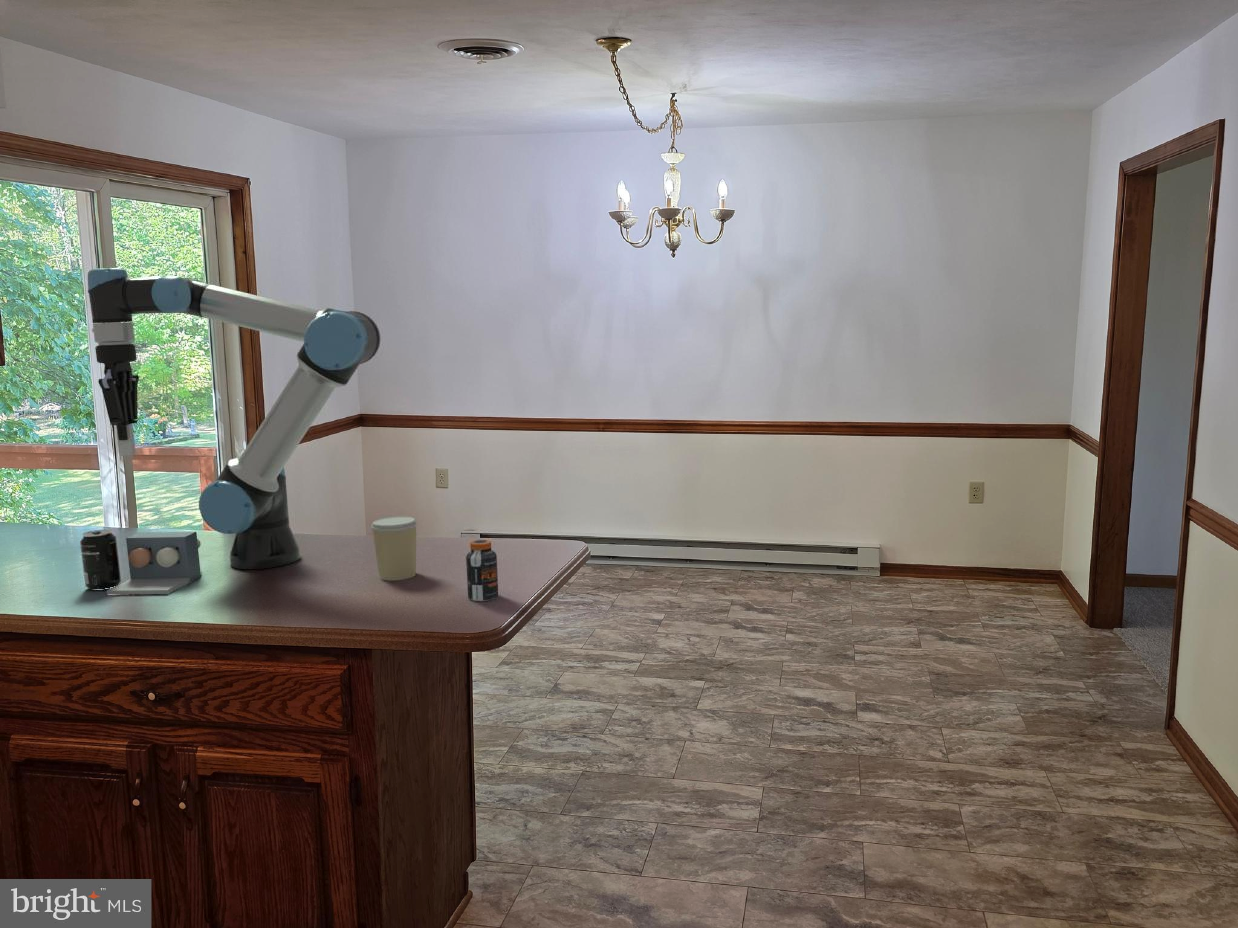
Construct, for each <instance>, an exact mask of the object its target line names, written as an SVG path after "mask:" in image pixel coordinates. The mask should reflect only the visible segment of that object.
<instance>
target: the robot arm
mask: <svg viewBox="0 0 1238 928" xmlns="http://www.w3.org/2000/svg"><path fill="white" fill-rule="evenodd" d="M87 293H88V297H89V305H90V311H91V312H90V313H91V318H92V319H91V321H92V329H91V331H92V332H93V338H94V342H95V343H97V344H98V345H96V346H95V348H94V349H95V357H96V358H95V359H96V362H97V363H98V364H104V366H103V367H104V369H103V374H104V377H103V378H99V379H98V385H99V387H100V389H101V390H102V391H101V392H102V396H103V400H104V403H105V408H106V412H107V416H108V420H109V423H110V425H111V426H116V432H117V433H116V435H117V441H118V451H119V456H122V457H123V456H135V455H137V452H136V441H135V433H134V426H133V425H134V424H138V413H139V412H138V385H139V378H140V377H139V374H133V368H132V365H131V363H133V362H136V361H137V359H138V358H137V357H138V356H137V349H136V345H135V344H133V342H134V341H136V338H135V337H136V336H135V332H134V323H133V315H139V314H140V315H141V314H144V315H145V314H185V315H191V316H195V317H199V318H203V319H204V318H205V319H207V320H213V321H215V322H221V323H226V324H229V325H233V326H237V327H241V328H245V329H248V330H249V329H250V330H253V331H258V332H263V333H266V334H270V335H273V336H274V335H275V336H278V337H283V338H286V339H290V340H294V341H299V342H303V344H302V346H301V347H300V349H299V350H298V352H297V354H296V359H297V363H298V366H297V368H296V369H295V371H294V373H293V374H292V375H291V377H290V379H289V380H288V382H287V383H286V385H285V387H284V388H283V390H282V391H281V393H280V395H279V396H278V397H277V399H276V401H275V402H274V403H273V405H272V407H271V409H270V410H269V412H268V413H267V414H266V416H265V417H264V419H263V421H262V422H261V424H260V426H258V428H257V431H256V432H255V434H254V435H253V437H252V438H251V440H250V441H249V442H248V444H247V446H246V447H245V449H244V450H243V452H242V453H241V455H240V457H235V458H231V459H229V460H228V462H227V463H226V465H225V466H224V468H223V469H222V471H221V472H220V474H218V475H219V476H217V478H216V480H215V481H212V482H211V483H209V484H208V485H207V486H205V488H204V489H203V490H202V491H201V494H200V496H199V500H198V510H199V513H200V516H201V518H202V520H203V521H204V523H205V524H206V525H207V526H208V527H209V528H211V529H212V530H214V532H218V533H220V534H226V535H233V534H235V535H234V537H233V543H232V545H231V550H230V555H229V560H230V566H231V567H232V568H235V569H239V570H260V569H271V568H277V567H283V566H286V565H290V564H293V563H295V562H297V561H299V560H300V558H301V555H300V553H301V551H300V547H299V545H298V543H297V540H296V537H295V535H294V533H293V531H292V529H291V527H290V519H289V517H290V516H289V506H288V505H289V504H288V494H287V492H288V491H287V481H286V480H287V476H286V473H285V465H286V464H287V462H288V461H289V459H290V458H291V457H292V455H293V454H294V452H295V450H296V449H297V447H298V446H299V444H300V443H301V441H302V439H304V437H305V435H306V433H307V432H308V430H309V429H310V427H311V426H312V424H313V423H314V422H315V420H316V418H317V417H318V415H319V414H320V413H321V410H322V409H323V407H325V404H326V403H327V401H328V399H330V397H331V395H332V394H333V392H334V391H335V389H336V388H339V387H345V386H346V385H347V384H348V383H349V381H350V379H351V378H352V377H353V375H354V374H355V372H356V370H357V369H358V368H359V366H360V365H362V364H365V363H367V362H369V361H370V360H372V359H373V358H374V357H375V356H376V354H377V353H378V351H379V348H380V345H381V333H380V330H379V327H378V325H377V324H376V322H375V321H374V320H373V318H371V317H370V316H369V315H367V314H365V313H363V312H360V311H354V310H350V311H348V310H347V311H345V310H339V309H336V308H335V309H334V308H330V307H325V308H324V309H323V310H319V309H314V308H310V307H306V306H301V305H298V304H294V303H289V302H285V301H281V300H277V299H273V298H268V297H264V296H259V295H256V294H252V293H247V292H244V291H240V290H236V289H232V288H226V287H223V286H218V285H214V284H209V283H206V282H202V281H201V280H198V279H195V278H191V277H186V278H185V277H182V276H178V275H177V276H174V275H160V276H145V277H129V275H128V272H127V270H126V269H124V268H117V267H113V268H112V267H110V268H105V267H104V268H103V267H102V268H101V267H100V268H92V269H89V271H88V272H87Z"/></svg>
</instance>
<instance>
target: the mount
mask: <svg viewBox="0 0 1238 928" xmlns="http://www.w3.org/2000/svg"><path fill="white" fill-rule="evenodd" d="M197 539H198V534H197V531H163V532H162V531H158V532H156V531H155V532H154V531H153V532H150V531H149V532H137V533H133V534H132V535H130V536H128V537H125V541H126V549H127V559H128V565H129V566H128V567H129V574H130V576H129V577H130V578H129V579H127V580H125V581H123V582H122V583H121V582H120V583H119V584H118V585H117V586H115V587H113V588H111V589H108V590H106V595H107V594H168V595H170V594H172V593H174V592H175V591H177V590H179V589H181V588H182V587H184V586H186V585H187V584H188V585H189V583H191V582H193V581H195V580H196V579H199V578H200V577H201V576H202V575H201V574H202V573H201V572H202V571H201V562H200V554H199V548H198V543H197ZM140 547H145V548H151V551H152V561H151V562H150V563H149V564H148V565H146V566H144V567H141V568H137V567H134V566H133V565H132V564H131V563H130V561H129V555H130V553H131V552H132V551H133V550H135V549H137V548H140ZM166 547H173V548H175V547H178V549H179V561H178V562H177V563H176V564H174V565H172V566H170V567H163V566H161V565H160V564H159V563H158V562H157V559H156V556H157V553H158V552H159V551H160V550H162V549H164V548H166ZM180 587H181V588H180ZM176 589H177V590H176ZM174 590H175V591H174ZM173 591H174V592H173ZM171 592H172V593H171Z"/></svg>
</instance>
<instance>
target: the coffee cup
mask: <svg viewBox="0 0 1238 928" xmlns="http://www.w3.org/2000/svg"><path fill="white" fill-rule="evenodd" d="M371 530H372V535H373V543H374V550H375V558H376V565H377V571H378V577H379V578H380V580H382V581H391V582H392V581H402V580H408V579H411V578H414V577H415V576H416V575H417V574H416V573H417V521H416V519H415V517H414V518H413V517H410V516H391V517H383V518H379V519H376V520H374V521H373V522H372V524H371Z"/></svg>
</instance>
